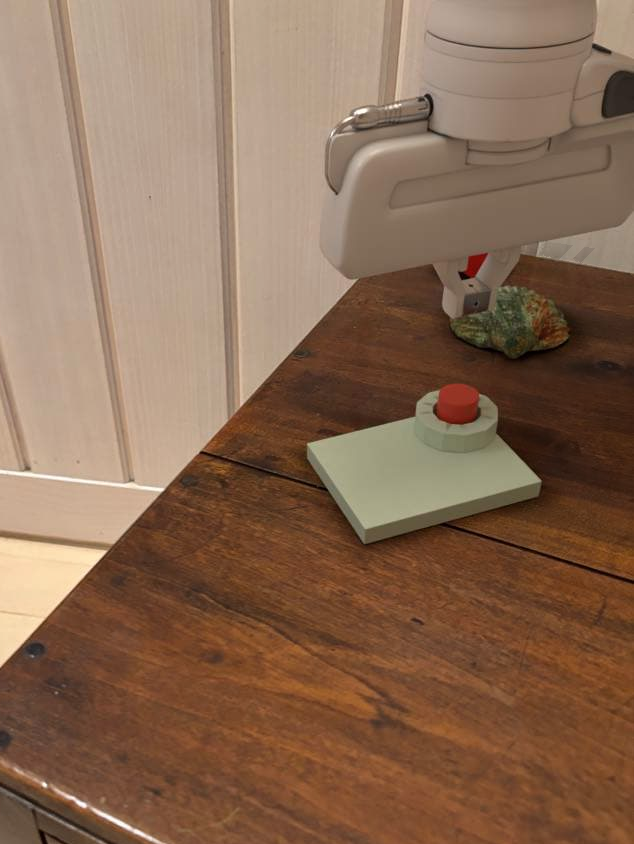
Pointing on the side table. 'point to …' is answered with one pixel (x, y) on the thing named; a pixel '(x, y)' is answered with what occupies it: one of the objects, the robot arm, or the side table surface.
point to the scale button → (457, 404)
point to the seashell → (514, 323)
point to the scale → (421, 471)
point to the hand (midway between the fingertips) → (467, 310)
